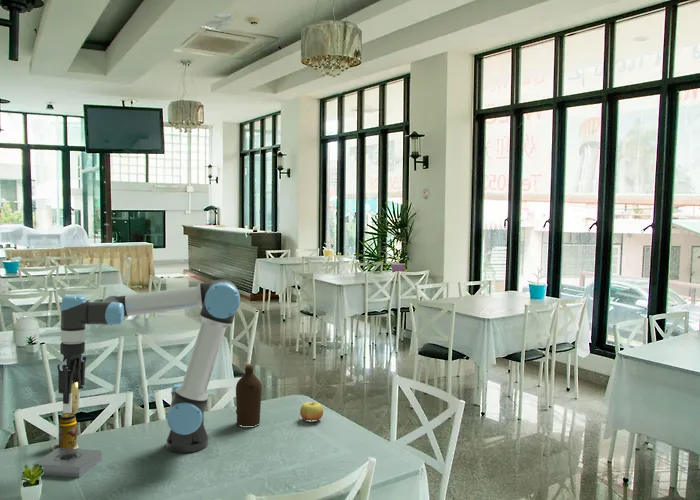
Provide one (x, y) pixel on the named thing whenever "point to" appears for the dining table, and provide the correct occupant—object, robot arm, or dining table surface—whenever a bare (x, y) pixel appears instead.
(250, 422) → the olive oil
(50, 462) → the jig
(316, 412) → the apple
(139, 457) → the dining table surface
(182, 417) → the robot arm
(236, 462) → the dining table surface
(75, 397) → the yellow cylinder
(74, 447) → the condiment
